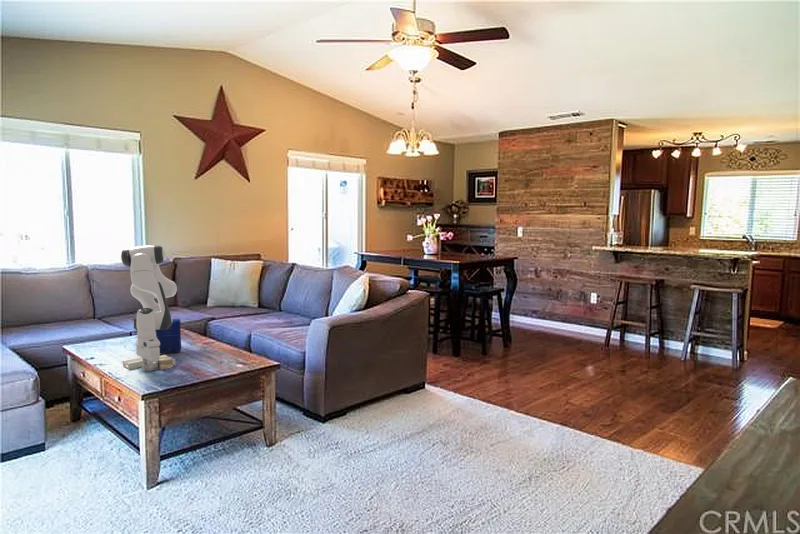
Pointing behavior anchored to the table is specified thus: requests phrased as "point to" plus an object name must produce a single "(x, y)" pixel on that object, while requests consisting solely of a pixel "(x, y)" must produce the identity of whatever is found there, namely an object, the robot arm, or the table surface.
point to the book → (170, 338)
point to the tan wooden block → (165, 362)
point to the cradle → (133, 363)
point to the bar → (153, 365)
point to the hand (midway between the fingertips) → (148, 366)
